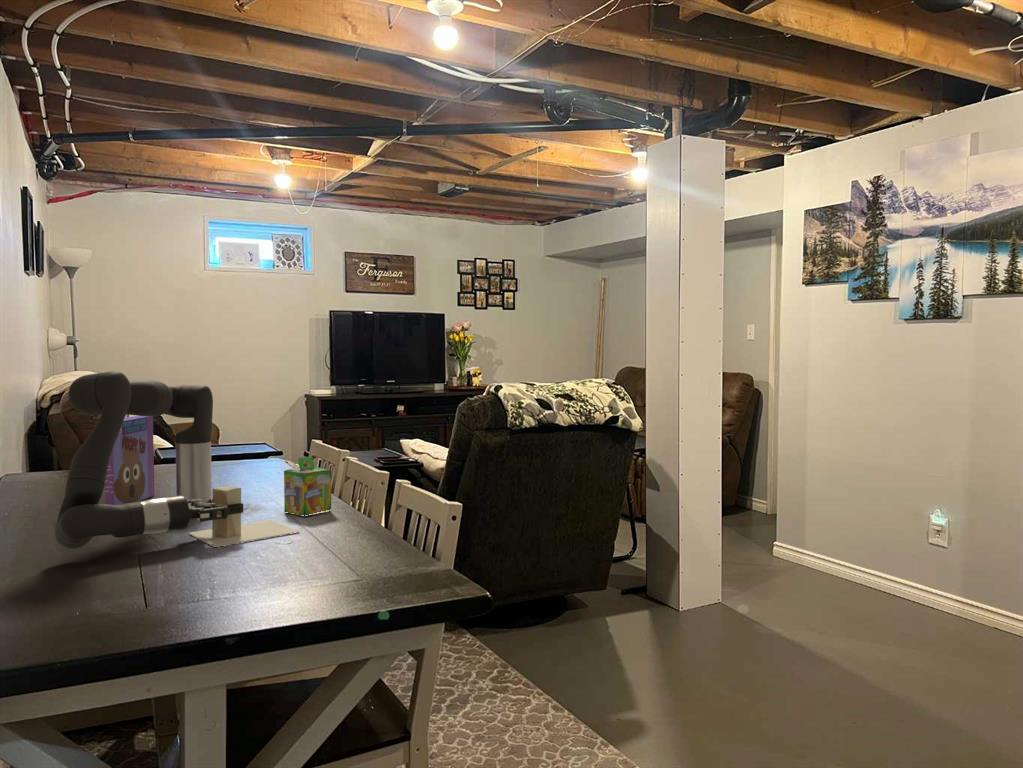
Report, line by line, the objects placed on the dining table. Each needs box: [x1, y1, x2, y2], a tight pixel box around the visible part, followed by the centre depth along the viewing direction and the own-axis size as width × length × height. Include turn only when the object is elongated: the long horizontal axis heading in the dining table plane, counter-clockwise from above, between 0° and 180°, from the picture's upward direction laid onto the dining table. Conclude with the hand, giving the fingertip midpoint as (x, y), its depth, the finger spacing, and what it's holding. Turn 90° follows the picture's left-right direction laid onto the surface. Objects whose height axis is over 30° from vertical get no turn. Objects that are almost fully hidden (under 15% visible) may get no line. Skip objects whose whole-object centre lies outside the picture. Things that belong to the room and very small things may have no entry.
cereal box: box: [104, 415, 155, 505], centre depth 210 cm, size 17×5×24 cm, turn 179°
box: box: [211, 485, 242, 538], centre depth 172 cm, size 5×4×11 cm
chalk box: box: [283, 455, 332, 517], centre depth 197 cm, size 9×9×15 cm
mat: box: [188, 519, 300, 548], centre depth 175 cm, size 16×20×1 cm
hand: (235, 504), depth 173 cm, fingers open, 8 cm apart
